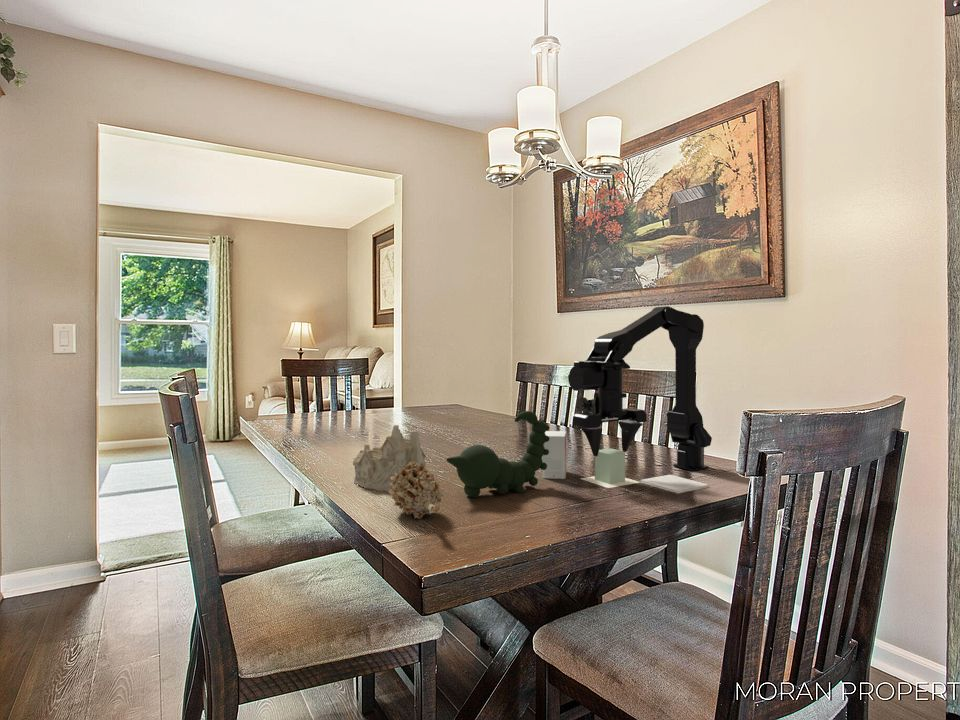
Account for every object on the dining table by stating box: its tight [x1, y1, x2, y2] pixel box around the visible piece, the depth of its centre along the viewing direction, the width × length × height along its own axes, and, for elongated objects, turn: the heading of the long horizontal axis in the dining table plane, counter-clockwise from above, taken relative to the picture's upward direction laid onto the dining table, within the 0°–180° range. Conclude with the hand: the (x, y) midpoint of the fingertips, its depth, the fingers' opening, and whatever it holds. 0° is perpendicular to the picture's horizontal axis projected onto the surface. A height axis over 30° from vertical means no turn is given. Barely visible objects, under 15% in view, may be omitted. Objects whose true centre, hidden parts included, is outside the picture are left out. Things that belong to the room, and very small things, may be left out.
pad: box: [640, 474, 709, 494], centre depth 131 cm, size 10×11×1 cm
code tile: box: [579, 475, 641, 489], centre depth 135 cm, size 10×10×1 cm
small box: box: [542, 430, 568, 480], centre depth 141 cm, size 8×6×10 cm
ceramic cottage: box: [352, 424, 427, 492], centre depth 136 cm, size 16×16×15 cm
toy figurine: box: [445, 410, 550, 499], centre depth 125 cm, size 9×19×25 cm
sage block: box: [594, 447, 626, 484], centre depth 135 cm, size 5×5×7 cm
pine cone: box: [387, 461, 444, 520], centre depth 107 cm, size 22×10×10 cm, turn 27°
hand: (610, 453), depth 135 cm, fingers open, 9 cm apart
